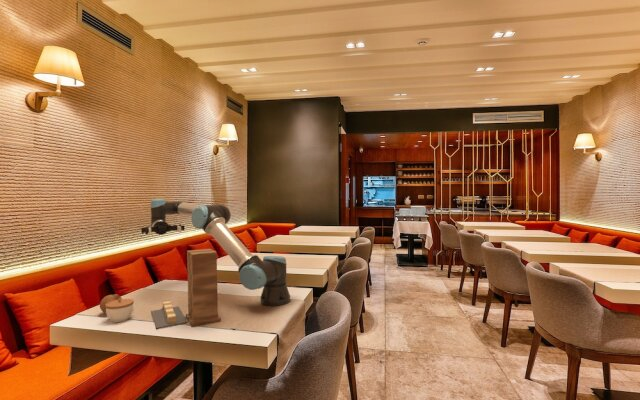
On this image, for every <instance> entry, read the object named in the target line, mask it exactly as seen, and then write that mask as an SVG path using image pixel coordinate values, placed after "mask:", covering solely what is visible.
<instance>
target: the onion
mask: <svg viewBox="0 0 640 400" xmlns="http://www.w3.org/2000/svg"><path fill="white" fill-rule="evenodd" d="M118 299H123V298H122V297H121V296H120V295H119V294H117V293H115V294H109V295H106V296H104V297H103V298H101V301H100V302H99V308H100V311H102V313H103V314H105V315H107V314H106V307H105V305H106V304H107V303H109V302H111V301H115V300H118Z"/></svg>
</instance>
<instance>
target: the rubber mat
mask: <svg viewBox="0 0 640 400" xmlns="http://www.w3.org/2000/svg"><path fill="white" fill-rule="evenodd" d="M172 308H173V310H174V313H175V315H176V323H173V324H168V322H167V319H166V316H165V312H164V309H163V308H162V309H161V308H160V309H155V310H151V311H150V313H151V317H152V320H153V323H154V325H155V329H156V330H159V329H160V330H161V329H165V328H170V327H174V326H179V325H184V324H185V325H186V324H189V322H188V320H187V318H186V316H185V315H184V313H183V312H182V310H181V308H180V306H179V305H178V306H177V305H176V306H172Z"/></svg>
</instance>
